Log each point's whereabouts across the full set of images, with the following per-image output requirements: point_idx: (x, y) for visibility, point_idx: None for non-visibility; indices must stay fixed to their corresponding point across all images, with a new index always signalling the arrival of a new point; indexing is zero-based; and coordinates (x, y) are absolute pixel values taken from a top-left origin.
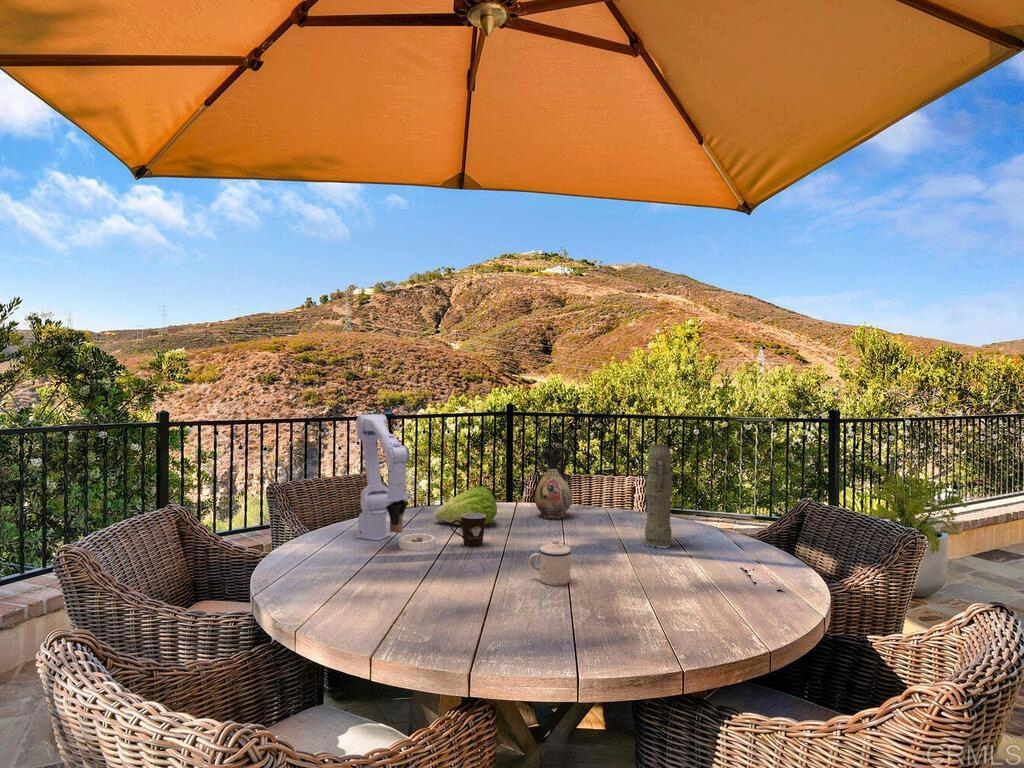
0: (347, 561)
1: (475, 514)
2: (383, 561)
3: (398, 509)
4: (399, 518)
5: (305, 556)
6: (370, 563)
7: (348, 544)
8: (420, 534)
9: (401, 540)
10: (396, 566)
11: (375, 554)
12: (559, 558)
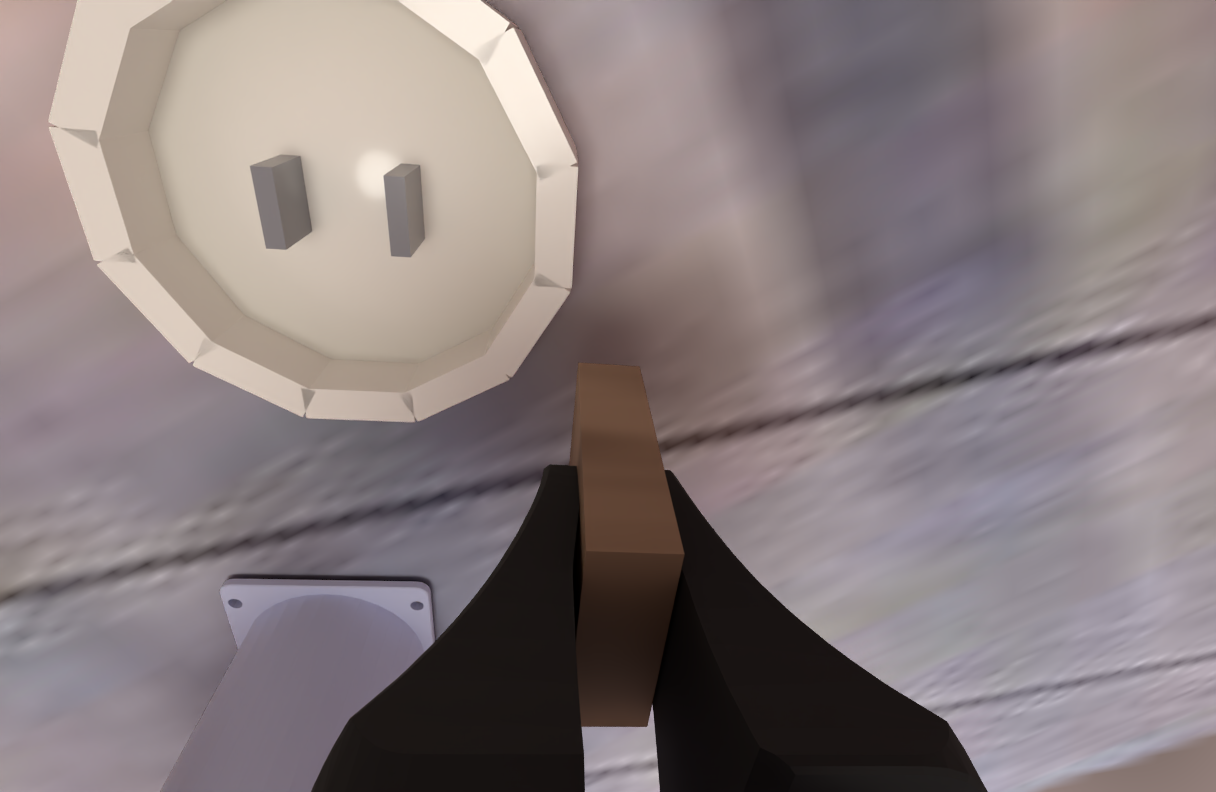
0: (1014, 499)
1: None
2: (1002, 247)
3: (839, 676)
4: (669, 513)
5: None
6: (1067, 324)
7: None
8: (144, 268)
9: (518, 347)
10: (1183, 19)
11: (797, 417)
12: None
